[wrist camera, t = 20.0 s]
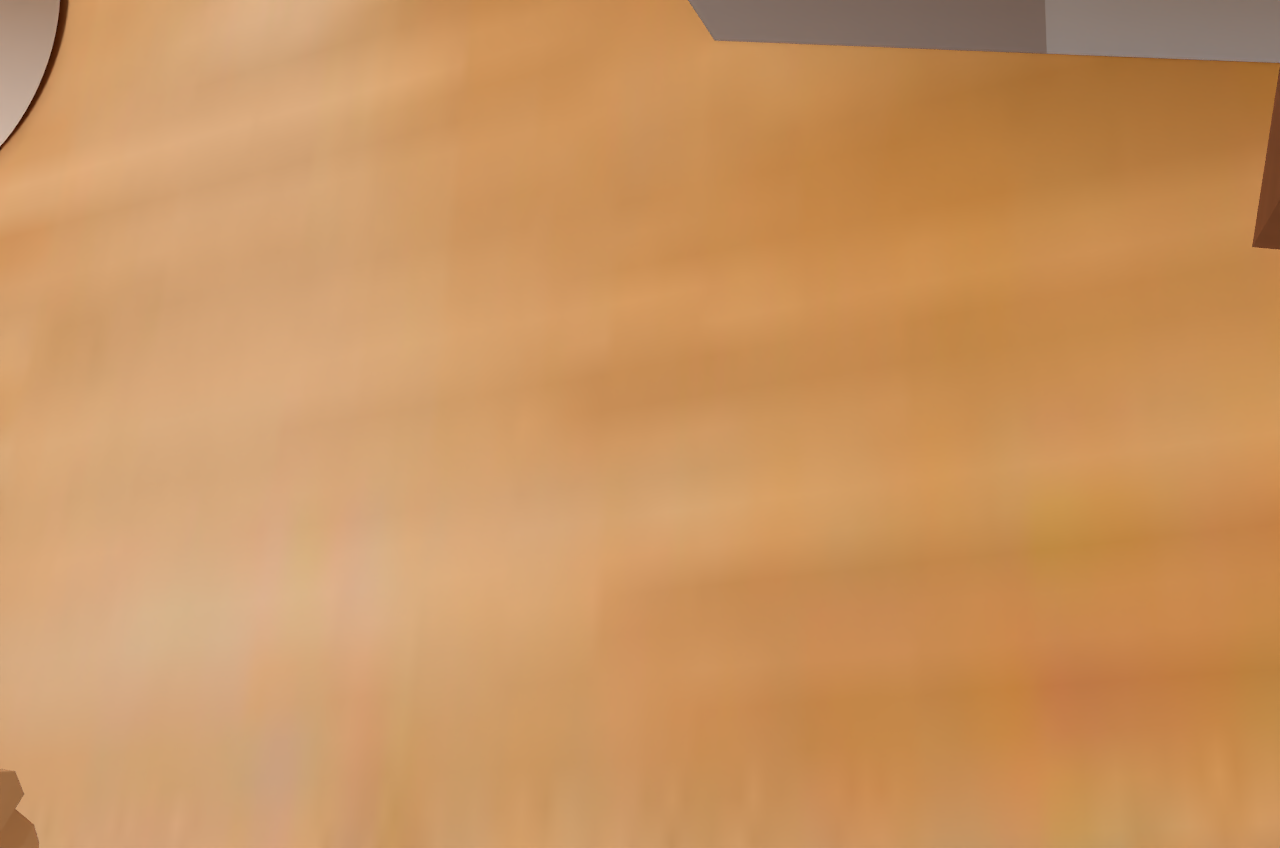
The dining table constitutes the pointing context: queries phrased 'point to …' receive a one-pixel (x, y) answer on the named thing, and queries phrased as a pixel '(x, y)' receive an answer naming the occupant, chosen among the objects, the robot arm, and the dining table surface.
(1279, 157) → the bar
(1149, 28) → the stepped stand
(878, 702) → the dining table surface
